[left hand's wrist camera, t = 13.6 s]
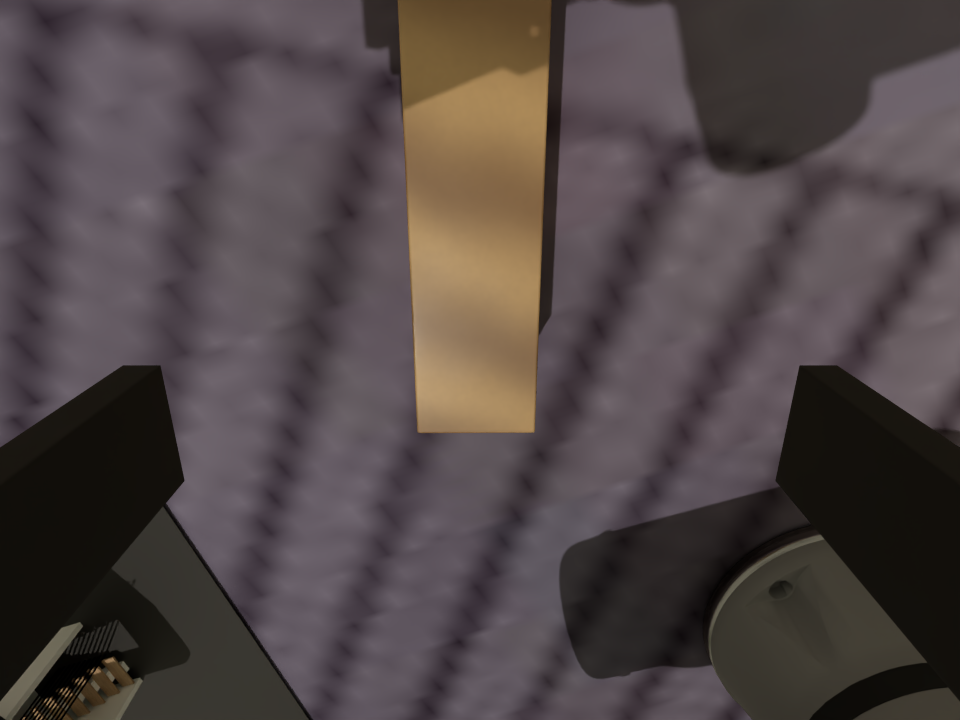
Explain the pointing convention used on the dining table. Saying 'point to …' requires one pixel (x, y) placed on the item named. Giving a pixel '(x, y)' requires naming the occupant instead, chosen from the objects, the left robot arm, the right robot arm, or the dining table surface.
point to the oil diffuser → (152, 648)
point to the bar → (475, 206)
